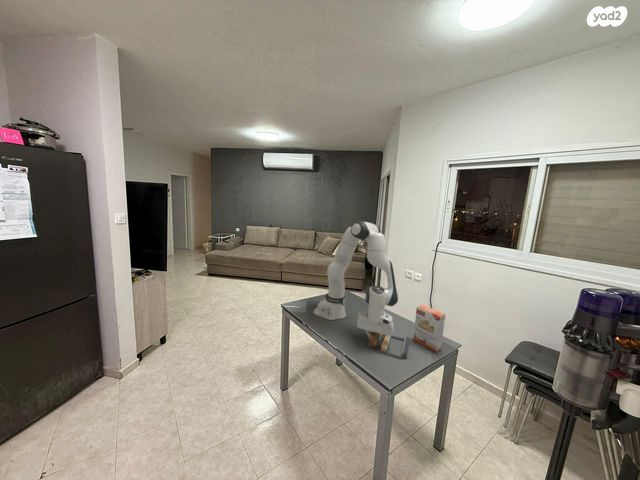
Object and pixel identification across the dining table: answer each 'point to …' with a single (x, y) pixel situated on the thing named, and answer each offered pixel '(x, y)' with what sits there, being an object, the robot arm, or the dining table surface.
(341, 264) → the robot arm
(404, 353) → the base
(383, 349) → the sliding jaw
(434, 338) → the cracker box
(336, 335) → the dining table surface
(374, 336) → the walnut block
